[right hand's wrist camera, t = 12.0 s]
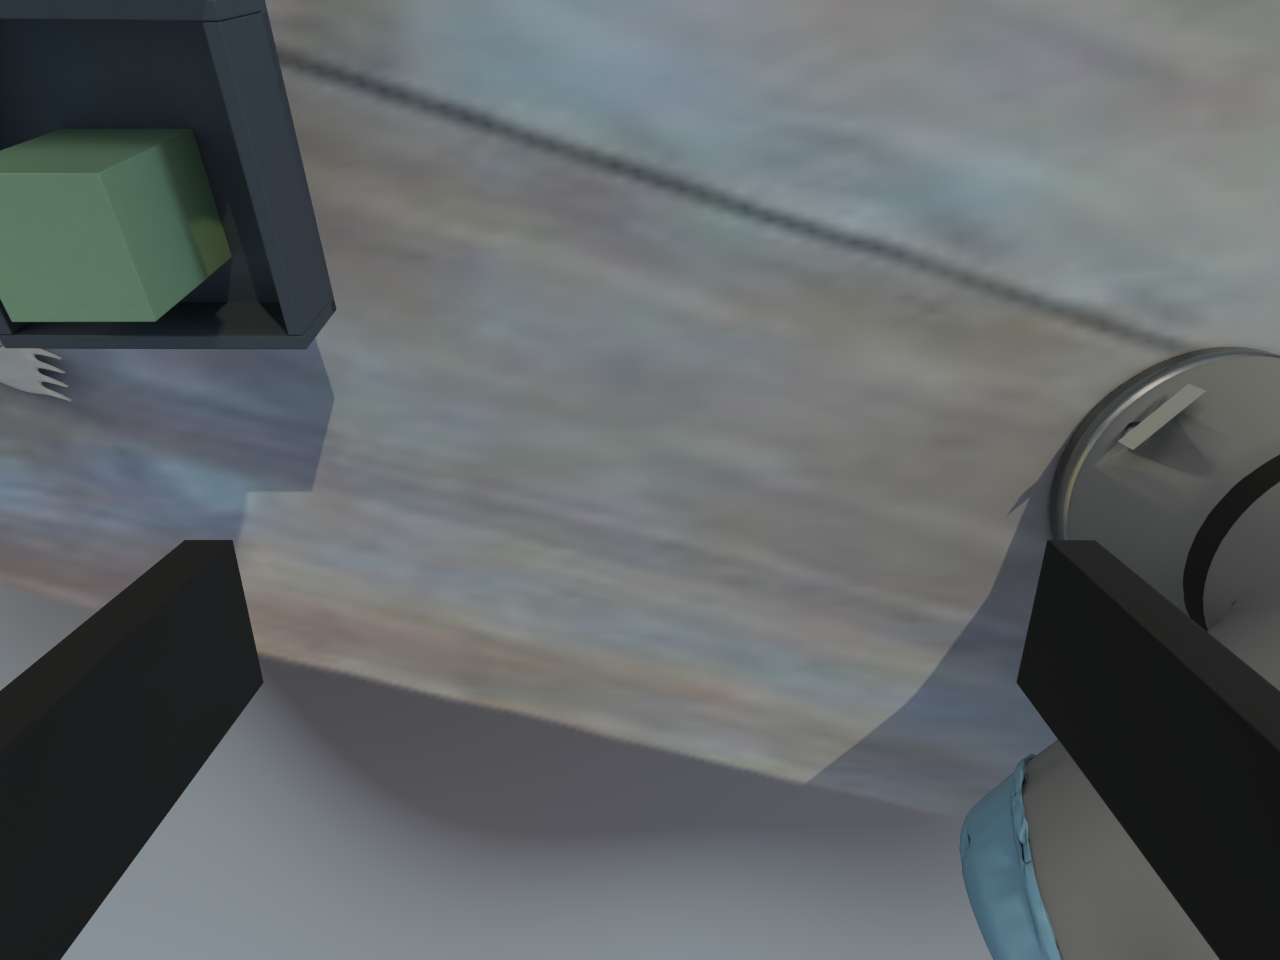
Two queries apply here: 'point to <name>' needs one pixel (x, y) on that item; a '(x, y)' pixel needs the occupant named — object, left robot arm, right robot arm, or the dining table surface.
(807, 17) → the dining table surface
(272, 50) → the pan
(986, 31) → the dining table surface
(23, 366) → the fork
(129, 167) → the block
